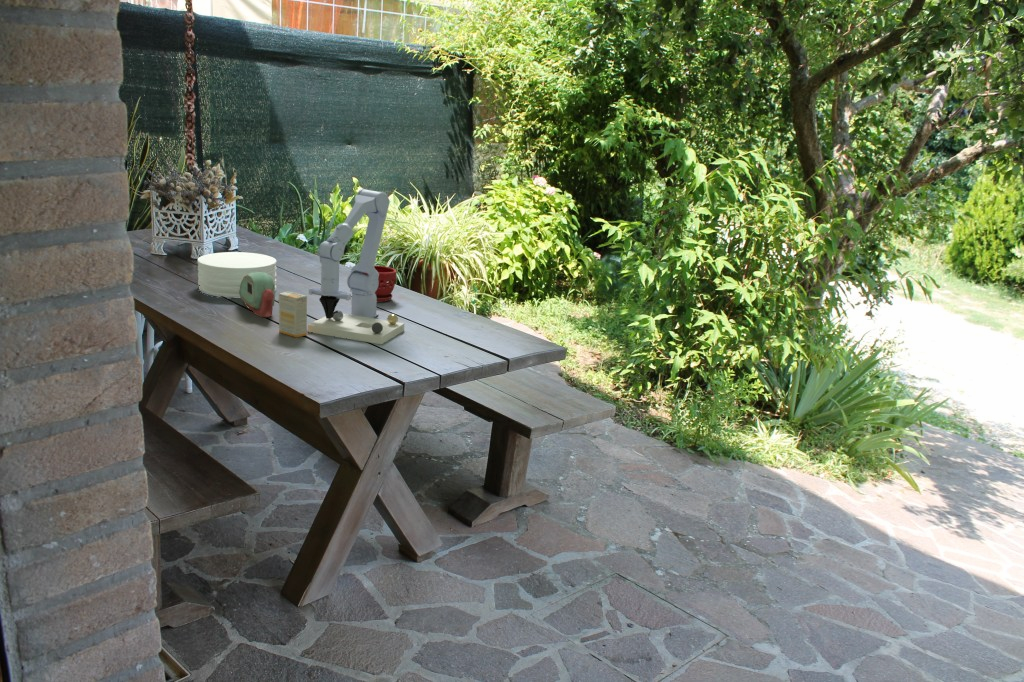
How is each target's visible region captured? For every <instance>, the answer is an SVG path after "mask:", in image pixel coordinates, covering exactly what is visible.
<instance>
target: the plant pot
mask: <svg viewBox="0 0 1024 682" xmlns="http://www.w3.org/2000/svg"><path fill="white" fill-rule="evenodd" d="M374 268H375V269H376V270H377V272H378V273H379V277H378V283H379V284H378V288H377V290H376V292H375V294H376V297H377V303H383V302H388V301H390V300H391V299H393V294H392V292H393V290H394V288H395V285H396V281H397V280H396V279H397V270H396V269H395V268H392V267H389V266H384V265H383V266H382V265H374ZM362 274H367V275H368V273H362Z"/></svg>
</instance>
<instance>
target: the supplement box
mask: <svg viewBox="0 0 1024 682" xmlns="http://www.w3.org/2000/svg"><path fill="white" fill-rule="evenodd" d="M307 306H308V296H307V295H304V294H300V293H298V292H295V291H284V292H280V293H278V323H279V324H278V331H279V333H280V334H284V335H287V336H290V337H294V338H301V337H303V336H307V335H308V321H307V320H308V318H307V317H308V316H307V315H308V309H307V308H308V307H307Z"/></svg>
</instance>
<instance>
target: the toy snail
mask: <svg viewBox="0 0 1024 682" xmlns="http://www.w3.org/2000/svg"><path fill="white" fill-rule="evenodd" d="M274 285H275V284H274V281H273V278H272V277H271V275H269V274H266V273H264V272H254V273H250V274H248V275H246V276H245V277H244V278H243V280H242V282H241V285H240V290H239V294H240V298H241V300H242V301H243V302H244V304H245V303H246V305H247V306H248V307H249V309H250V310H252V311H253V312H254V313H256V314H258V315H259V316H261V317H260V318H270V316H271V317H272V316H273V307H274V306H275V302H276V301H275V299H276V292H275V289H274ZM246 305H245V306H246ZM249 309H248V310H249ZM250 310H249V311H250ZM252 311H251V312H252ZM253 312H252V313H253ZM254 313H253V314H254ZM256 314H255V315H256ZM258 315H257V316H258ZM259 316H258V317H259Z"/></svg>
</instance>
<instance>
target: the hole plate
mask: <svg viewBox="0 0 1024 682" xmlns="http://www.w3.org/2000/svg"><path fill="white" fill-rule="evenodd" d="M377 322H378V323H381V324H382V326H383V330H382V331H381V332H380V333H374V332H373V331H372V325H373V324H374V323H377ZM404 331H405V323H404V322H399V321H397V323H396V324H390V323H389V322H388V320H386V319H381V318H380V319H379V318H375V317H374V318H368V317H362V316H355V315H351V314H348V313H343V319H342V320H340V321H336V320H334V319H333V318H331V319H327V318H326V315H324V316H323V317H321V318H319V319H316V320H315V321H312V322H311V323H309V324H308V323H307V333H311V332H313V333H312V334H318V335H323V336H328V337H329V336H330V337H334V336H335V338H340V337H341V339H346V338H347V339H349V340H352V341H360V342H365V343H371V344H376V345H384V344H385V343H387V342H388V341H389V340H391V339H393V338H394V337H396V336H397V335H399V334H401V333H403V332H404ZM384 342H385V343H384Z"/></svg>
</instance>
